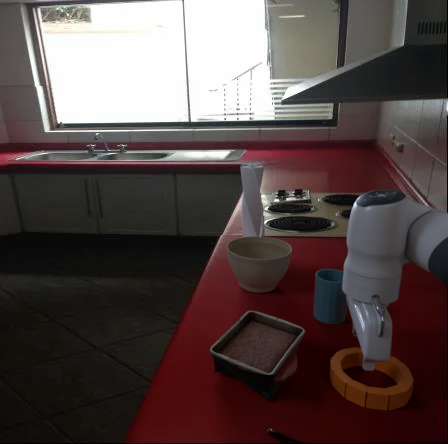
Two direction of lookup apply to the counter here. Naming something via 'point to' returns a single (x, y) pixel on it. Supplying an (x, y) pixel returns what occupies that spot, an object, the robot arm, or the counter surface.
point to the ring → (365, 394)
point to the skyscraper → (252, 200)
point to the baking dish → (259, 351)
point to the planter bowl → (258, 262)
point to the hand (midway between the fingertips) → (362, 351)
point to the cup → (329, 297)
